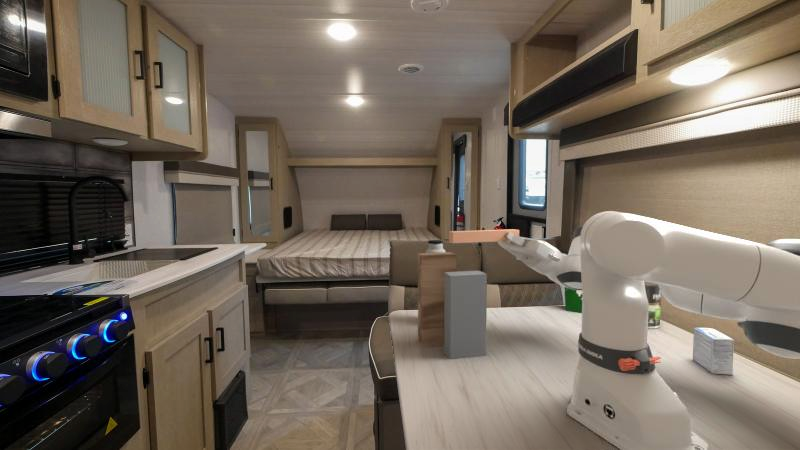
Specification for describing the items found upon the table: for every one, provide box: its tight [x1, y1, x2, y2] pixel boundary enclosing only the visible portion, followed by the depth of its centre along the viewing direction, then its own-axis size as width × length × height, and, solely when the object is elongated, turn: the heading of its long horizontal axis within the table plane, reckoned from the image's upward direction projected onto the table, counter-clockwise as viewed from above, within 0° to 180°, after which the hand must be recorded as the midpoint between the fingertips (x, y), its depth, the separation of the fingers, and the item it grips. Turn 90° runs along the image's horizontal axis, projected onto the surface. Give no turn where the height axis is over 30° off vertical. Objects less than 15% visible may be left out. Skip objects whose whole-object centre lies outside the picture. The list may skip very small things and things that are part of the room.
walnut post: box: [417, 251, 458, 348], centre depth 105 cm, size 5×10×26 cm, turn 102°
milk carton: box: [564, 287, 582, 314], centre depth 135 cm, size 9×9×20 cm
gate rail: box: [448, 228, 520, 244], centre depth 102 cm, size 3×20×3 cm, turn 103°
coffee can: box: [644, 281, 662, 330], centre depth 120 cm, size 10×10×14 cm
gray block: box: [443, 270, 488, 360], centre depth 97 cm, size 5×10×22 cm, turn 102°
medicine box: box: [692, 327, 735, 376], centre depth 89 cm, size 8×4×9 cm, turn 168°
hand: (503, 233), depth 103 cm, fingers closed on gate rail, 3 cm apart
